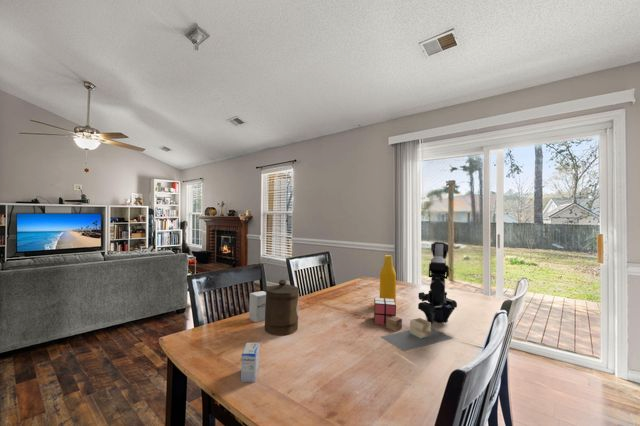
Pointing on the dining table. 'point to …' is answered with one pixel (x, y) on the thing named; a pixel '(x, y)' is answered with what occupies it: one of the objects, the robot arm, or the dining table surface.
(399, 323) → the walnut cube
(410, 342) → the rubber mat
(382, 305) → the puzzle cube
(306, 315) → the dining table surface
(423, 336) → the beech cube
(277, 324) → the wooden container
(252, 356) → the medicine box
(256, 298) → the supplement box
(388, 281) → the beer bottle
